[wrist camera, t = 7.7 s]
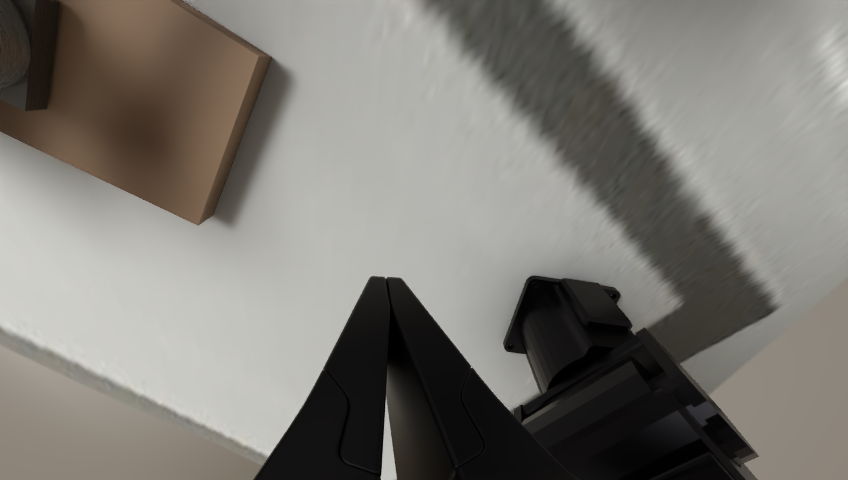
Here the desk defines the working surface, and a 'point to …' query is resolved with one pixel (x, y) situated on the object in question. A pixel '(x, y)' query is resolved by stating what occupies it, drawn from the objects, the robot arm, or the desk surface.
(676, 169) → the desk surface
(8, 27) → the knob
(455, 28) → the desk surface
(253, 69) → the knob mount
